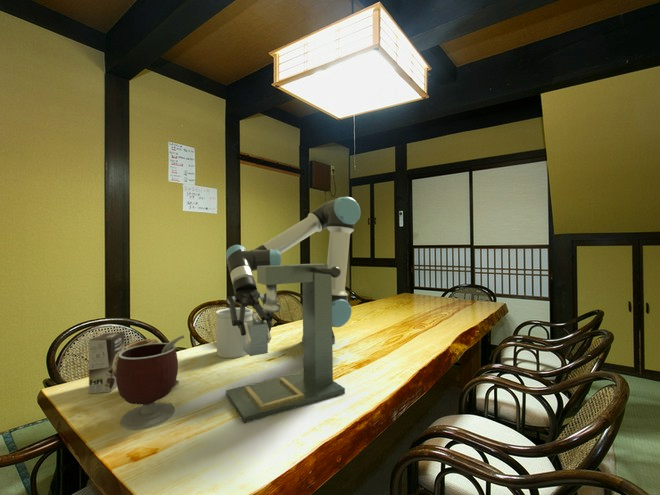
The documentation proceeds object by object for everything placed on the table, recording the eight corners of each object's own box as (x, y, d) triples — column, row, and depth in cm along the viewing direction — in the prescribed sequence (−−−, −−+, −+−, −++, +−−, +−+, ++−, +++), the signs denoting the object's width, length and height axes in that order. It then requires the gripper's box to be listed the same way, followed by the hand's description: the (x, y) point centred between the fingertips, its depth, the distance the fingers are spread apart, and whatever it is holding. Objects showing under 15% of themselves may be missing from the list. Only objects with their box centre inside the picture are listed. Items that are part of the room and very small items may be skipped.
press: (315, 373, 110) (313, 262, 110) (361, 404, 88) (359, 265, 88) (225, 395, 94) (224, 266, 94) (254, 439, 72) (252, 270, 72)
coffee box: (111, 392, 97) (111, 339, 97) (88, 394, 96) (87, 340, 96) (125, 380, 106) (125, 331, 106) (104, 381, 105) (103, 332, 105)
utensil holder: (251, 345, 143) (251, 306, 143) (254, 356, 129) (254, 312, 129) (216, 349, 138) (216, 308, 138) (215, 360, 124) (215, 315, 124)
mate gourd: (110, 437, 74) (109, 350, 74) (122, 409, 87) (121, 335, 87) (184, 421, 80) (183, 341, 80) (185, 398, 93) (184, 329, 93)
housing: (260, 346, 104) (260, 310, 104) (267, 353, 98) (267, 314, 98) (243, 349, 101) (243, 311, 101) (250, 356, 95) (250, 316, 95)
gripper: (266, 287, 118) (284, 343, 104) (214, 291, 108) (225, 353, 94) (271, 274, 113) (291, 331, 99) (217, 276, 104) (230, 340, 90)
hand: (259, 342), depth 97 cm, fingers closed on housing, 5 cm apart
